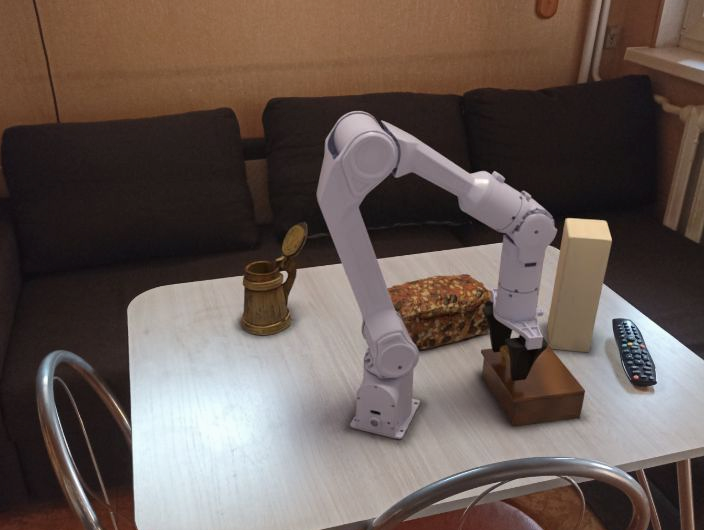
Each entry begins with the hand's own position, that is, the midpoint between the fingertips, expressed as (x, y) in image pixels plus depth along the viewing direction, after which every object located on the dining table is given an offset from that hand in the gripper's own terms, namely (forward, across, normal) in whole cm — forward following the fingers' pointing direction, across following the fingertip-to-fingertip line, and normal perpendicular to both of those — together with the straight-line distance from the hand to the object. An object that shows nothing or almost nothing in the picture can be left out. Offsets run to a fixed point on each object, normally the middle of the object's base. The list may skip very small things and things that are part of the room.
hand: (508, 364), depth 105 cm
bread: (+6, +21, +5) cm, 23 cm away
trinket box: (+6, 0, -4) cm, 7 cm away
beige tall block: (+6, +14, -18) cm, 23 cm away
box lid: (+2, 0, -4) cm, 4 cm away
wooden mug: (+6, +31, +32) cm, 45 cm away
